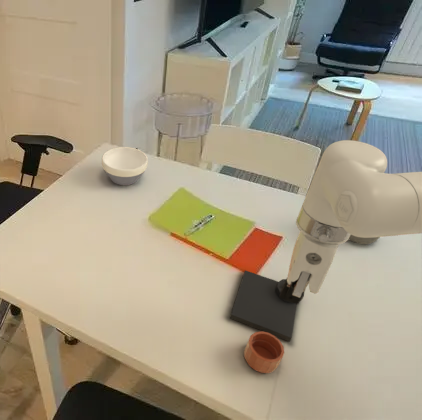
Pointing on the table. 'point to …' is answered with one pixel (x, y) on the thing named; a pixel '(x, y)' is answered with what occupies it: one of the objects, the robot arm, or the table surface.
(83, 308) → the table surface
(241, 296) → the scale
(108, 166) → the bowl
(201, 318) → the table surface
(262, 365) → the small bowl
